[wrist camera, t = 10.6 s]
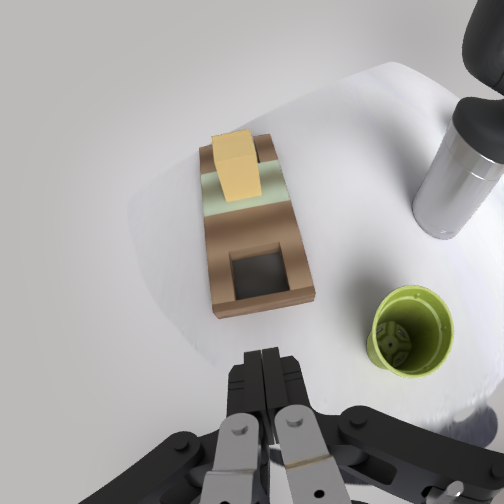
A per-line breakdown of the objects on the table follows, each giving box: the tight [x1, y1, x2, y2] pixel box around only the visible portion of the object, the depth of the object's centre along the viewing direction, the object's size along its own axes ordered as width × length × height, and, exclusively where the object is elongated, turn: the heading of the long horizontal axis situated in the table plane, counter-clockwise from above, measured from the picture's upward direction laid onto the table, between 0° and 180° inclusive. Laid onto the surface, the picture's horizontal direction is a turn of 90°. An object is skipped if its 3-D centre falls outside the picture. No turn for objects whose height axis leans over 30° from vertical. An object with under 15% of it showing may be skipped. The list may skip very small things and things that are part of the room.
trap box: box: [199, 134, 316, 319], centre depth 41 cm, size 28×12×3 cm, turn 9°
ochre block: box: [212, 129, 262, 202], centre depth 37 cm, size 5×5×8 cm
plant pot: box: [367, 285, 454, 378], centre depth 28 cm, size 9×9×9 cm
